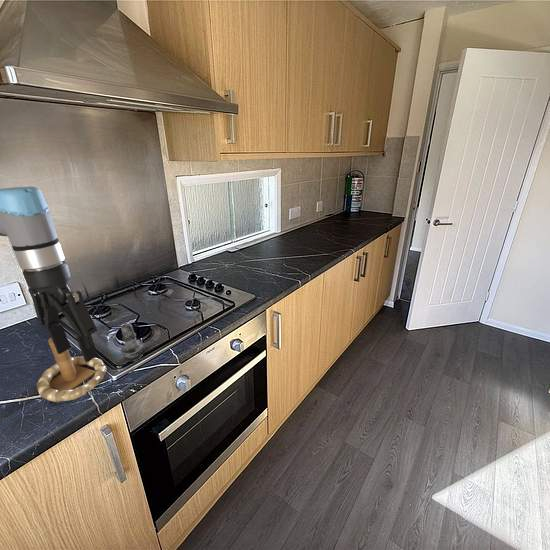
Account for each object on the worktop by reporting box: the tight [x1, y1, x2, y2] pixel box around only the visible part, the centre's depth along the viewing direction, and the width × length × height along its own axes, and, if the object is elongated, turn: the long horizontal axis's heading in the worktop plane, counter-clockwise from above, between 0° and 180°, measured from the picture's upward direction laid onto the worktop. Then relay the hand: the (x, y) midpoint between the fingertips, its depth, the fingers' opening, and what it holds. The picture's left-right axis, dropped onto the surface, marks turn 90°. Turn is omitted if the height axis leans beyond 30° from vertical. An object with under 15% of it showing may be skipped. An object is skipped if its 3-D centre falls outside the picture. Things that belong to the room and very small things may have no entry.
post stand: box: [47, 337, 96, 391], centre depth 73 cm, size 8×8×14 cm
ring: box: [36, 355, 108, 403], centre depth 74 cm, size 14×14×2 cm
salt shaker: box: [120, 321, 144, 362], centre depth 82 cm, size 6×6×12 cm
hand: (77, 354), depth 69 cm, fingers open, 9 cm apart
